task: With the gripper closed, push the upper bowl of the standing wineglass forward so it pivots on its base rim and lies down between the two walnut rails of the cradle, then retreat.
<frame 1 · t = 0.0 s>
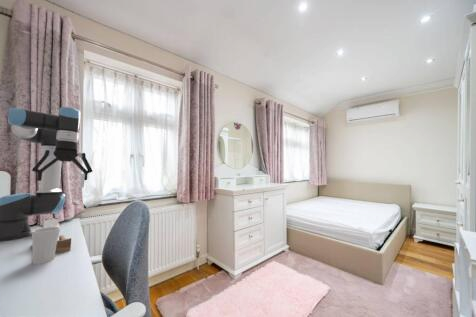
hand: (63, 188, 87), 28 cm above the table, fingers open, 13 cm apart
cup: (43, 261, 76), on the table
cradle: (50, 247, 91), on the table
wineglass: (49, 244, 95), on the table
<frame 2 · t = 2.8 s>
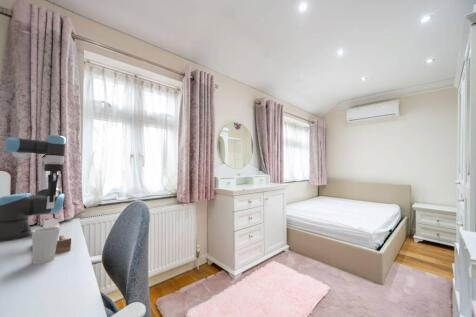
hand: (50, 208, 102), 16 cm above the table, fingers closed
nothing on the table moved.
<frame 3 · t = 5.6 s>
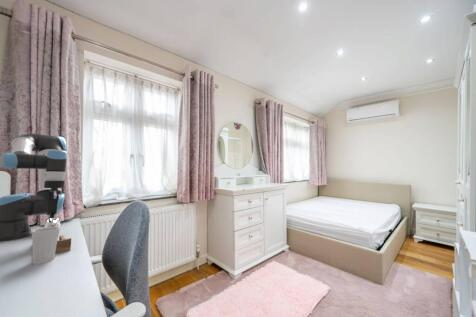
hand: (50, 227, 97), 8 cm above the table, fingers closed
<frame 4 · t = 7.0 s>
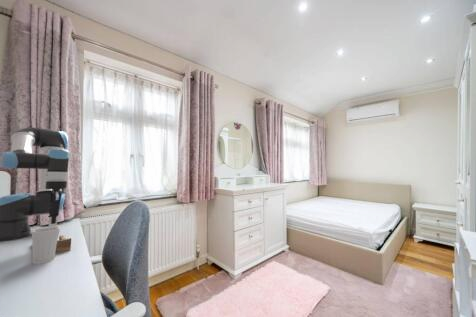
hand: (52, 230, 92), 8 cm above the table, fingers closed
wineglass: (48, 238, 94), point 3 cm above the table, touching cradle
everything else where it was.
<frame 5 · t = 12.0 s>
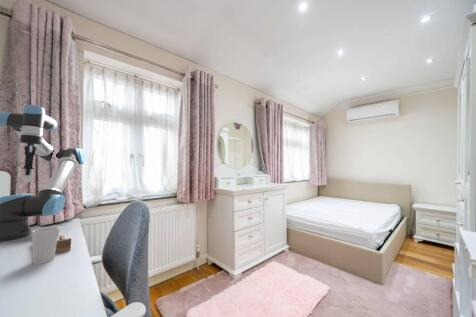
hand: (26, 181, 97), 30 cm above the table, fingers closed
nothing on the table moved.
at the end: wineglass tilted 89°; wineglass inside the target area (6.6 cm from its centre), point 3.2 cm above the table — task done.
